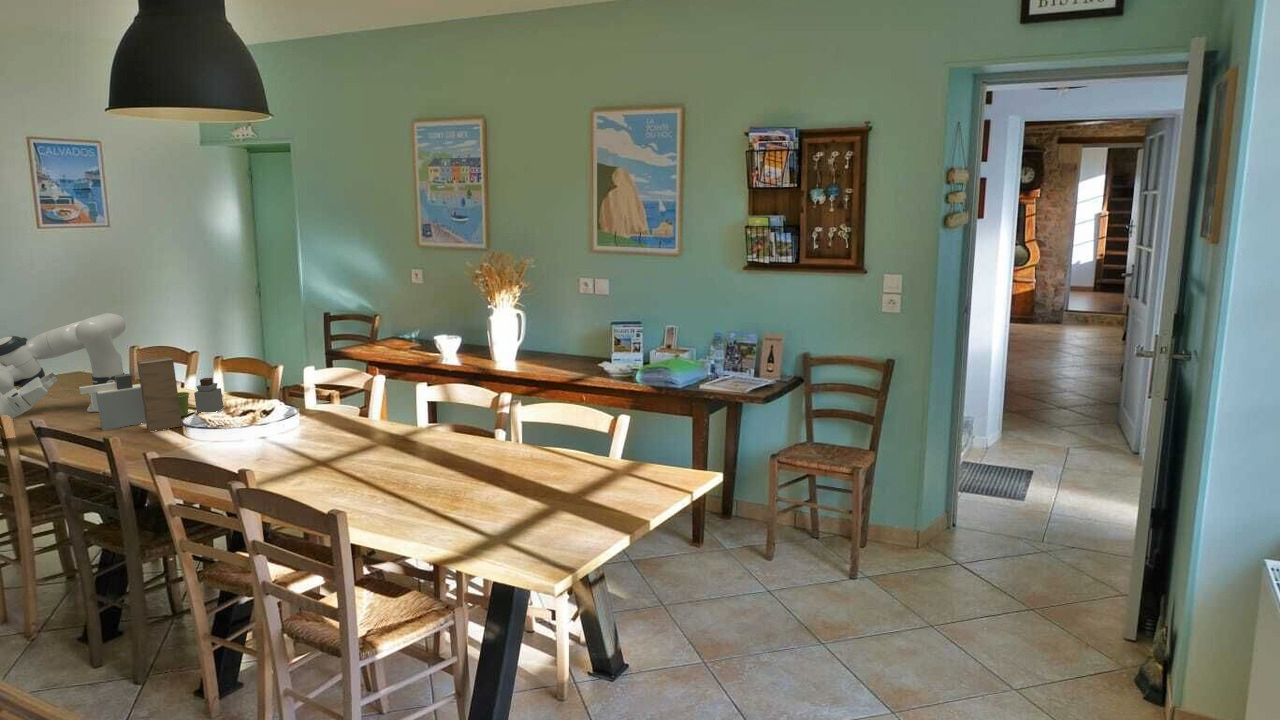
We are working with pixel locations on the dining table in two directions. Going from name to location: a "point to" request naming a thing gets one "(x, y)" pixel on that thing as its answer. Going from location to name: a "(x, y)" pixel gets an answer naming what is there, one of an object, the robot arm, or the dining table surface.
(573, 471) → the dining table surface
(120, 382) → the mallet
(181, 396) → the plant pot
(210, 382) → the perfume bottle
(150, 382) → the walnut stand
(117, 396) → the notepad block
